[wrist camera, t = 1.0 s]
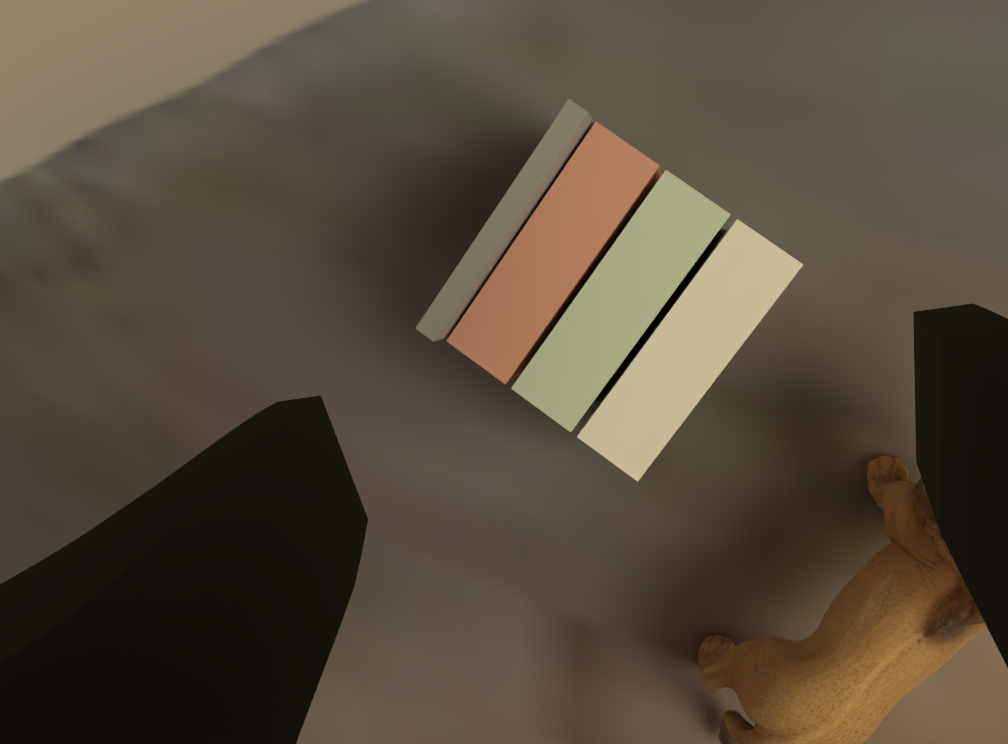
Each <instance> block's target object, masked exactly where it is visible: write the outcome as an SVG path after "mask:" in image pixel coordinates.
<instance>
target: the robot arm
mask: <svg viewBox="0 0 1008 744" xmlns="http://www.w3.org/2000/svg"><path fill="white" fill-rule="evenodd" d="M914 362H915V416H916V462H917V465H918V468H919V471H920V474H921V477H922V480H923V483H924V486H925V489H926V493H927V496H928V499H929V502H930V505H931V508H932V510H933V513H934V516H935V519H936V522H937V525H938V528H939V531H940V533H941V536H942V538H943V540H944V542H945V544H946V546H947V548H948V550H949V552H950V554H951V556H952V558H953V560H954V562H955V564H956V566H957V568H958V570H959V572H960V574H961V576H962V578H963V580H964V582H965V584H966V586H967V588H968V590H969V592H970V594H971V596H972V598H973V600H974V602H975V604H976V606H977V608H978V610H979V612H980V614H981V616H982V618H983V620H984V622H985V624H986V626H987V628H988V630H989V632H990V634H991V636H992V638H993V640H994V642H995V644H996V645H997V647H998V649H999V651H1000V653H1001V655H1002V657H1003V659H1004V661H1005V663H1006V665H1007V667H1008V319H1007V318H1005V317H1002V316H1000V315H998V314H996V313H994V312H992V311H990V310H987V309H985V308H983V307H980V306H978V305H975V304H967V305H960V306H953V307H946V308H938V309H931V310H924V311H917V312H914ZM367 522H368V518H367V516H366V513H365V510H364V508H363V505H362V502H361V500H360V497H359V495H358V492H357V489H356V487H355V484H354V482H353V479H352V476H351V474H350V471H349V468H348V466H347V463H346V461H345V458H344V455H343V453H342V450H341V448H340V445H339V442H338V440H337V437H336V434H335V432H334V429H333V427H332V424H331V421H330V419H329V416H328V414H327V411H326V408H325V406H324V403H323V400H322V398H321V396H315V397H308V398H301V399H294V400H287V401H280V402H277V403H275V404H273V405H271V406H269V407H267V408H266V409H264V410H262V411H260V412H259V413H257V414H256V415H254V416H253V417H251V418H249V419H248V420H246V421H245V422H243V423H242V424H241V425H239V426H238V427H236V428H235V429H233V430H232V431H230V432H229V433H228V434H226V435H225V436H223V437H222V438H221V439H219V440H218V441H216V442H215V443H214V444H212V445H211V446H210V447H208V448H207V449H205V450H204V451H203V452H201V453H200V454H198V455H197V456H196V457H194V458H193V459H192V460H190V461H189V462H187V463H186V464H185V465H183V466H182V467H181V468H179V469H178V470H176V471H175V472H174V473H172V474H171V475H170V476H168V477H167V478H165V479H164V480H163V481H161V482H160V483H159V484H157V485H156V486H154V487H153V488H152V489H150V490H149V491H147V492H146V493H144V494H143V495H141V496H140V497H138V498H137V499H135V500H134V501H132V502H131V503H130V504H128V505H127V506H125V507H124V508H122V509H121V510H119V511H118V512H116V513H115V514H113V515H112V516H110V517H109V518H108V519H106V520H105V521H103V522H102V523H100V524H99V525H97V526H96V527H94V528H93V529H91V530H90V531H89V532H87V533H86V534H84V535H82V536H81V537H79V538H78V539H76V540H75V541H73V542H71V543H70V544H68V545H67V546H65V547H63V548H62V549H60V550H59V551H57V552H55V553H54V554H52V555H50V556H49V557H47V558H45V559H44V560H42V561H40V562H39V563H37V564H35V565H33V566H32V567H30V568H28V569H26V570H25V571H23V572H21V573H19V574H18V575H16V576H14V577H13V578H11V579H9V580H7V581H6V582H4V583H2V584H0V744H296V742H297V739H298V736H299V734H300V731H301V728H302V726H303V723H304V720H305V718H306V715H307V712H308V710H309V707H310V705H311V702H312V699H313V697H314V694H315V691H316V689H317V686H318V683H319V681H320V678H321V675H322V673H323V670H324V667H325V665H326V662H327V659H328V657H329V654H330V652H331V649H332V646H333V644H334V641H335V638H336V636H337V633H338V630H339V627H340V625H341V622H342V619H343V616H344V614H345V611H346V608H347V605H348V603H349V600H350V597H351V594H352V591H353V588H354V585H355V581H356V576H357V572H358V568H359V563H360V559H361V554H362V549H363V544H364V538H365V533H366V528H367Z"/></svg>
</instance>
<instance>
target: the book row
mask: <svg viewBox="0 0 1008 744" xmlns="http://www.w3.org/2000/svg"><path fill="white" fill-rule="evenodd" d="M730 215H731V214H729V213H728V212H726V211H725V210H723V209H722V208H720V207H719V206H718V205H716V204H715V203H713V202H712V201H710V200H709V199H707V198H706V197H704V196H703V195H702V194H700V193H699V192H697V191H696V190H694V189H693V188H691V187H690V186H689V185H687V184H686V183H684V182H683V181H681V180H680V179H678V178H677V177H676V176H674V175H673V174H671V173H670V172H668V171H667V170H665V172H664V173H663V174H661V170H660V166H659V165H658V164H657V163H655V162H654V161H652V160H651V159H649V158H648V157H647V156H645V155H644V154H642V153H641V152H639V151H638V150H636V149H635V148H634V147H632V146H631V145H629V144H628V143H626V142H625V141H623V140H622V139H620V138H619V137H618V136H616V135H615V134H613V133H612V132H610V131H609V130H607V129H606V128H605V127H603V126H602V125H600V124H599V123H597V122H594V121H593V119H592V117H591V116H590V114H589V113H588V112H587V111H586V110H584V109H583V108H581V107H580V106H578V105H577V104H575V103H574V102H573V101H571V100H570V99H568V101H567V102H566V104H565V105H564V107H563V108H562V110H561V111H560V113H559V114H558V116H557V117H556V119H555V120H554V122H553V123H552V125H551V126H550V128H549V129H548V131H547V132H546V134H545V135H544V137H543V138H542V140H541V141H540V143H539V144H538V146H537V147H536V149H535V150H534V152H533V153H532V155H531V156H530V158H529V159H528V161H527V162H526V164H525V165H524V167H523V168H522V170H521V171H520V173H519V174H518V176H517V177H516V179H515V180H514V182H513V183H512V185H511V186H510V188H509V189H508V191H507V192H506V194H505V195H504V197H503V198H502V200H501V201H500V203H499V204H498V206H497V207H496V209H495V210H494V212H493V213H492V215H491V216H490V218H489V219H488V220H487V222H486V223H485V225H484V226H483V228H482V229H481V231H480V232H479V234H478V235H477V237H476V238H475V240H474V241H473V243H472V244H471V246H470V247H469V249H468V250H467V252H466V253H465V255H464V256H463V258H462V259H461V261H460V262H459V264H458V265H457V267H456V268H455V270H454V271H453V273H452V274H451V276H450V277H449V279H448V280H447V282H446V283H445V285H444V286H443V288H442V289H441V291H440V292H439V294H438V295H437V297H436V298H435V300H434V301H433V303H432V304H431V306H430V307H429V309H428V310H427V312H426V313H425V315H424V316H423V318H422V319H421V321H420V322H419V324H418V325H417V327H416V328H415V329H417V330H418V331H420V332H421V333H422V334H424V335H425V336H426V337H428V338H429V339H430V340H432V341H433V342H434V341H438V340H442V339H445V338H448V339H447V342H448V343H450V344H451V345H452V346H454V347H455V348H456V349H458V350H459V351H460V352H462V353H463V354H465V355H466V356H467V357H469V358H470V359H471V360H473V361H474V362H475V363H477V364H478V365H480V366H481V367H482V368H484V369H485V370H486V371H488V372H489V373H490V374H492V375H493V376H495V377H496V378H497V379H499V380H500V381H501V382H503V383H504V384H506V383H508V382H510V381H511V380H513V379H514V378H516V377H518V376H519V375H520V377H519V378H518V379H517V381H516V382H515V384H514V385H513V387H512V388H511V389H512V390H514V391H515V392H516V393H518V394H519V395H520V396H522V397H523V398H525V399H526V400H527V401H529V402H530V403H531V404H533V405H534V406H535V407H537V408H538V409H540V410H541V411H542V412H544V413H545V414H546V415H548V416H549V417H550V418H552V419H553V420H554V421H556V422H557V423H559V424H560V425H561V426H563V427H564V428H565V429H567V430H568V431H569V432H572V430H573V429H574V427H575V426H576V425H577V423H578V422H579V421H580V419H581V418H582V417H583V415H584V414H585V412H586V411H587V410H588V408H589V407H590V406H591V404H592V403H593V402H594V400H595V399H596V397H597V396H598V395H599V393H600V392H601V391H602V389H603V388H604V387H605V385H606V384H607V382H608V381H609V380H610V378H611V377H612V376H613V374H614V373H615V372H616V370H617V369H618V367H619V366H620V365H621V363H622V362H623V361H624V359H625V358H626V357H627V355H628V354H629V352H630V351H631V350H632V348H633V347H634V346H635V344H636V343H637V342H638V340H639V339H640V337H641V336H642V335H643V333H644V332H645V331H646V329H647V328H648V327H649V325H650V324H651V322H652V321H653V320H654V318H655V317H656V316H657V314H658V313H659V312H660V310H661V309H662V307H663V306H664V305H665V303H666V302H667V301H668V299H669V298H670V297H671V295H672V294H673V292H674V291H675V290H676V288H677V287H678V286H679V284H680V283H681V282H682V280H683V279H684V277H685V276H686V275H687V273H688V272H689V271H690V269H691V268H692V267H693V265H694V264H695V262H696V261H697V260H698V258H699V257H700V256H701V254H702V253H703V252H704V250H705V249H706V247H707V246H708V245H709V243H710V242H711V241H712V239H713V238H714V237H715V235H716V234H717V232H718V231H719V230H720V228H721V227H722V226H723V224H724V223H725V222H726V220H727V219H728V217H729V216H730ZM802 266H803V264H802V263H800V262H799V261H797V260H796V259H794V258H793V257H791V256H790V255H788V254H787V253H786V252H784V251H783V250H781V249H780V248H778V247H777V246H775V245H774V244H773V243H771V242H770V241H768V240H767V239H765V238H764V237H762V236H761V235H760V234H758V233H757V232H755V231H754V230H752V229H751V228H749V227H748V226H746V225H745V224H744V223H742V222H741V221H739V220H738V219H737V220H736V221H735V222H734V223H733V224H732V225H731V226H730V227H729V228H728V229H727V230H726V231H725V233H724V234H723V236H722V237H721V238H720V240H719V241H718V242H717V244H716V245H715V246H714V248H713V249H712V250H711V252H710V253H709V255H708V256H707V257H706V259H705V260H704V261H703V263H702V264H701V265H700V267H699V268H698V270H697V271H696V272H695V274H694V275H693V276H692V278H691V279H690V280H689V282H688V283H687V284H686V286H685V287H684V289H683V290H682V291H681V293H680V294H679V295H678V297H677V298H676V299H675V301H674V302H673V304H672V305H671V306H670V308H669V309H668V310H667V312H666V313H665V314H664V316H663V317H662V319H661V320H660V321H659V323H658V324H657V325H656V327H655V328H654V329H653V331H652V332H651V333H650V335H649V336H648V338H647V339H646V340H645V342H644V343H643V344H642V346H641V347H640V348H639V350H638V351H637V353H636V354H635V355H634V357H633V358H632V359H631V361H630V362H629V363H628V365H627V366H626V367H625V369H624V370H623V372H622V373H621V374H620V376H619V377H618V378H617V380H616V381H615V382H614V384H613V385H612V387H611V388H610V389H609V391H608V392H607V393H606V395H605V396H604V397H603V399H602V400H601V401H600V403H599V404H598V406H597V407H596V409H595V410H594V412H593V413H592V415H591V416H590V418H589V419H588V421H587V422H586V424H585V425H584V427H583V428H582V430H581V431H580V433H579V434H578V436H577V437H578V438H579V439H580V440H582V441H583V442H584V443H586V444H587V445H589V446H590V447H591V448H593V449H594V450H595V451H597V452H598V453H599V454H601V455H602V456H604V457H605V458H606V459H608V460H609V461H610V462H612V463H613V464H614V465H616V466H617V467H619V468H620V469H621V470H623V471H624V472H625V473H627V474H628V475H629V476H631V477H632V478H634V479H635V480H636V481H639V479H640V478H641V477H642V475H643V474H644V473H645V471H646V470H647V469H648V467H649V466H650V465H651V464H652V462H653V461H654V460H655V458H656V457H657V456H658V454H659V453H660V452H661V450H662V449H663V448H664V447H665V445H666V444H667V443H668V441H669V440H670V439H671V437H672V436H673V435H674V433H675V432H676V431H677V429H678V428H679V427H680V426H681V424H682V423H683V422H684V420H685V419H686V418H687V416H688V415H689V414H690V412H691V411H692V410H693V408H694V407H695V406H696V405H697V403H698V402H699V401H700V399H701V398H702V397H703V395H704V394H705V393H706V391H707V390H708V389H709V388H710V386H711V385H712V384H713V382H714V381H715V380H716V378H717V377H718V376H719V374H720V373H721V372H722V370H723V369H724V368H725V367H726V365H727V364H728V363H729V361H730V360H731V359H732V357H733V356H734V355H735V353H736V352H737V351H738V350H739V348H740V347H741V346H742V344H743V343H744V342H745V340H746V339H747V338H748V336H749V335H750V334H751V332H752V331H753V330H754V329H755V327H756V326H757V325H758V323H759V322H760V321H761V319H762V318H763V317H764V315H765V314H766V313H767V312H768V310H769V309H770V308H771V306H772V305H773V304H774V302H775V301H776V300H777V298H778V297H779V296H780V294H781V293H782V292H783V291H784V289H785V288H786V287H787V285H788V284H789V283H790V281H791V280H792V279H793V277H794V276H795V275H796V273H797V272H798V271H799V270H800V268H801V267H802Z"/></svg>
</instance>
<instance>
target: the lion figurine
mask: <svg viewBox="0 0 1008 744" xmlns="http://www.w3.org/2000/svg"><path fill="white" fill-rule="evenodd" d="M908 479H909V471H908V469H907V468H906V467H905V466H904V465H903V464H902V461H901V459H900V458H898V457H889V456H881V457H879V458H876V459H872V460H870V461H869V463H868V468H867V481H868V489H869V491H870V494H871V495H872V496H873V497H874V499H875V501H876V503H877V505H878V506H879V507H881V508H882V509H883V513H884V519H885V533H886V535H887V537H888V538H889V539H890V540H891V543H890V544H888V545H887V546H885V547H884V548H883V549H881V550H880V551H879V552H878V553H876V554H875V555H874V556H873V557H872V558H871V559H870V560H869V561H868V562H867V563H866V564H865V565H864V566H863V567H862V568H861V570H860V571H859V572H858V573H857V574H856V575H855V576H854V577H853V578H852V579H851V580H850V581H849V582H848V583H847V585H846V586H845V587H844V588H843V589H842V590H841V592H840V593H839V594H838V595H837V597H836V598H835V599H834V601H833V602H832V604H831V605H830V607H829V608H828V610H827V611H826V613H825V615H824V617H823V619H822V621H821V623H820V625H819V627H818V628H817V630H816V631H815V632H814V634H813V635H811V636H810V637H809V638H807V639H805V640H802V641H790V640H785V639H780V638H774V637H772V638H759V639H752V640H748V641H745V642H742V643H741V644H739V645H737V646H735V647H734V643H733V641H732V640H731V639H730V638H725V637H723V636H721V635H714V636H709V637H707V638H706V639H705V640H704V641H703V642H702V644H701V646H700V648H699V652H698V662H699V669H700V672H701V677H702V679H703V681H704V683H705V685H706V686H707V688H708V689H709V690H711V691H712V692H716V691H718V690H719V689H721V688H723V687H729V688H732V689H734V690H735V692H736V693H737V695H738V697H739V700H740V702H741V704H742V706H743V708H744V710H745V712H746V714H747V715H748V716H749V718H750V719H751V720H752V721H753V722H755V727H753V726H752V725H751V724H750V723H748V722H747V721H746V720H745V719H744V718H743V716H741V715H740V714H739V712H737V711H734V710H728V711H727V712H725V714H724V720H723V721H722V722H721V723H720V733H719V739H720V742H721V744H735V743H737V744H861V743H863V742H864V741H865V740H866V739H867V738H868V737H869V736H870V735H871V734H872V733H873V732H874V731H875V730H876V728H877V727H878V726H879V724H880V723H881V721H882V720H883V719H884V717H885V716H886V715H887V714H888V713H889V711H890V710H891V709H892V708H893V707H894V706H895V705H896V704H897V702H898V701H900V700H901V699H902V698H903V697H904V696H905V695H907V694H908V693H909V692H910V691H912V690H913V689H914V688H915V687H917V686H918V685H919V684H920V683H921V682H922V681H924V680H925V679H926V678H927V677H929V676H930V675H931V674H932V673H934V672H935V671H936V670H937V669H939V668H940V667H941V666H943V665H944V664H945V663H946V662H947V661H948V660H950V659H951V658H952V657H953V656H954V655H955V654H956V653H957V652H958V651H959V650H960V649H961V648H962V647H963V646H964V645H966V644H967V643H968V642H969V641H970V640H971V639H972V638H974V637H975V636H976V635H977V634H978V633H979V632H980V631H982V630H983V629H984V628H985V627H986V624H985V622H984V620H983V618H982V616H981V614H980V612H979V610H978V608H977V606H976V604H975V602H974V600H973V598H972V596H971V594H970V592H969V590H968V588H967V586H966V584H965V582H964V580H963V578H962V576H961V574H960V572H959V570H958V568H957V566H956V564H955V562H954V560H953V558H952V556H951V554H950V552H949V550H948V548H947V546H946V544H945V542H944V540H943V538H942V536H941V533H940V531H939V528H938V525H937V522H936V519H935V516H934V513H933V510H932V508H931V505H930V502H929V499H928V496H927V493H926V489H925V486H924V483H923V480H922V477H921V479H920V480H919V482H918V483H917V484H915V483H910V482H908Z"/></svg>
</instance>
